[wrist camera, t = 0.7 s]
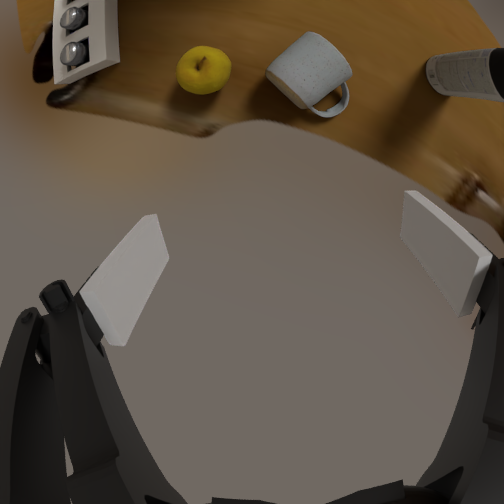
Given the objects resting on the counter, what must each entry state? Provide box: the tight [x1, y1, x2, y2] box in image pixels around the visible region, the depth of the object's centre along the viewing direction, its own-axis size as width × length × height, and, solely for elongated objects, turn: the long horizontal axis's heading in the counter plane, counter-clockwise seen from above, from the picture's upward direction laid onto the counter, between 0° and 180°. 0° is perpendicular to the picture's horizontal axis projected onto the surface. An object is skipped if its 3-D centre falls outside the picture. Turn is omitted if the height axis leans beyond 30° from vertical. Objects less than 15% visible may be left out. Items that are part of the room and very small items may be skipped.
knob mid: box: [60, 7, 89, 31], centre depth 21 cm, size 4×4×4 cm
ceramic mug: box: [265, 32, 352, 117], centre depth 27 cm, size 11×8×8 cm
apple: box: [176, 46, 231, 95], centre depth 27 cm, size 6×6×8 cm
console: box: [53, 0, 120, 84], centre depth 23 cm, size 19×10×4 cm, turn 6°
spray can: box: [426, 48, 504, 102], centre depth 18 cm, size 7×7×20 cm
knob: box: [60, 42, 90, 66], centre depth 24 cm, size 4×4×4 cm
